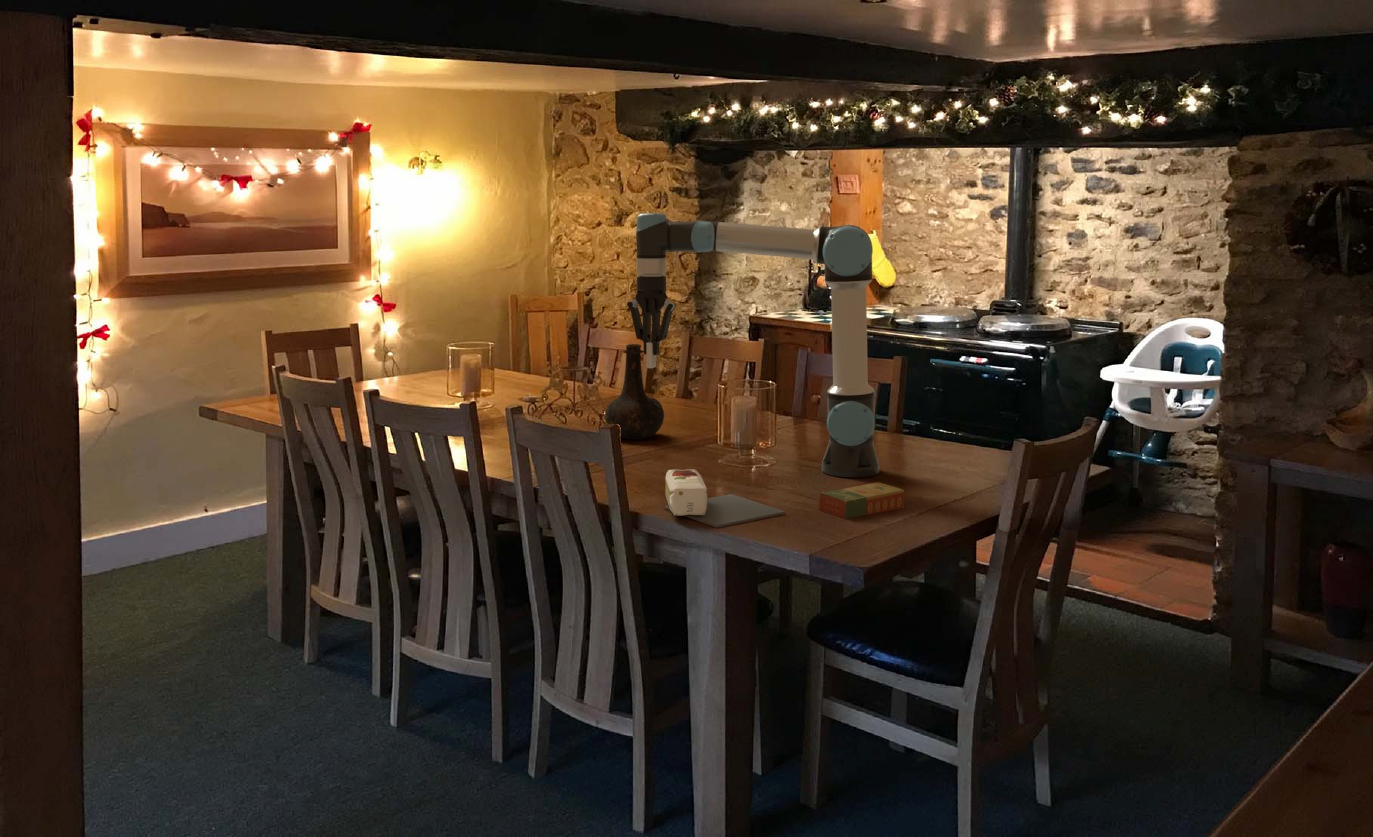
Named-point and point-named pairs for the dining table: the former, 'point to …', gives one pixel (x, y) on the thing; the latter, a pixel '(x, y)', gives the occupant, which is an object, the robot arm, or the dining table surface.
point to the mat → (733, 511)
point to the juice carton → (686, 492)
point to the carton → (861, 500)
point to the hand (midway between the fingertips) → (651, 367)
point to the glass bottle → (635, 402)
